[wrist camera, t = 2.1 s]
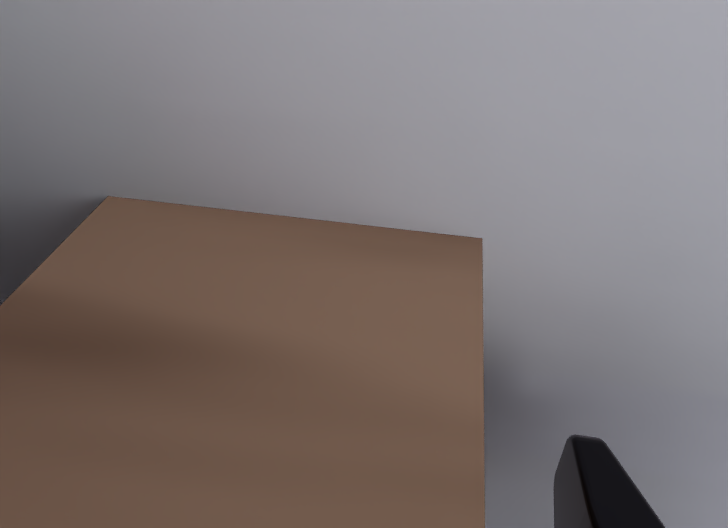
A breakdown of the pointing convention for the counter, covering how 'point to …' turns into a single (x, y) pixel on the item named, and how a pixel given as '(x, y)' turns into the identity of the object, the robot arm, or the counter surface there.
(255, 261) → the cube
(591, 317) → the counter surface
